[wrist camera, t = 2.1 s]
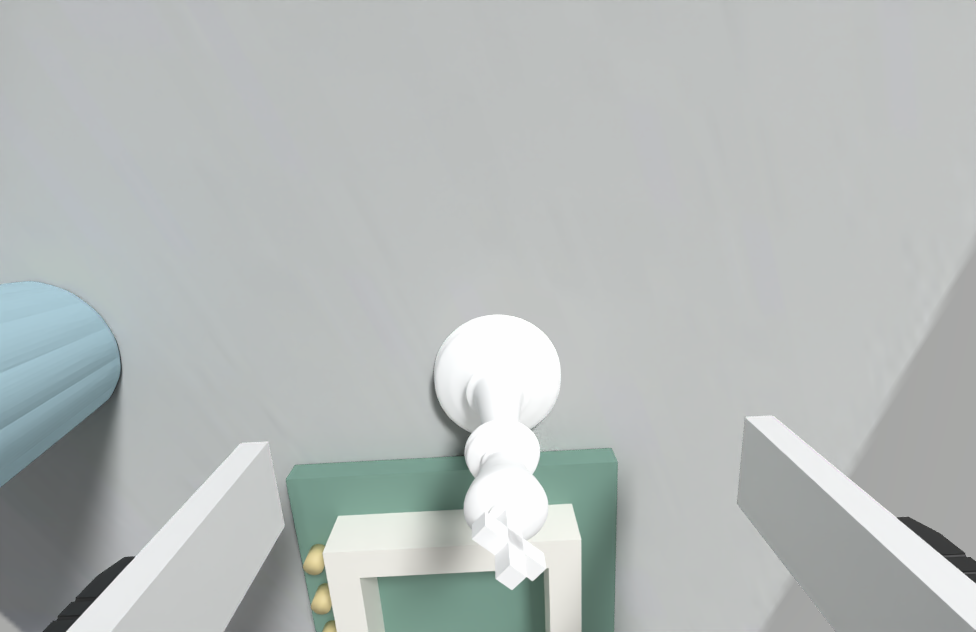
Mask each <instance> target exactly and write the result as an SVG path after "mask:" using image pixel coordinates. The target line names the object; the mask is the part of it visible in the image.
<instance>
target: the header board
mask: <svg viewBox="0 0 976 632" xmlns="http://www.w3.org/2000/svg"><path fill="white" fill-rule="evenodd" d="M617 471H618V462H617V459H616V457H615V455H614V453H613V451H612V448H603V449H585V450H566V451H547V452H540V458H539V462H538V465H537V467H536V470H535V471H534V473H533V474H532V475H533V476H534V477H535V478H536V479H537V480H538V482H539V483H540V484H541V486H542V487H543V489H544V491H545V493H546V496H547V499H548V515H547V519H546V521H545V523H544V525H543V527H542V528H541V529H540V531H539V532H538V533H537V534H536V535H534V536H533V537H532V538H530V539H528V540H526V541H527V542H529V543H530V544H532V545H533V546H534V547H536V548H537V549H539V550H540V551H542V552H543V553H544V557H545V563H546V569H545V570H544V571H543V572H542V573H541V574H540V575H539V576H538V577H537V578H536V579H535V580H534V581H531V580H530V579H529V578H527V577H526V578H525V579H524V580H523V581H522V582H520V583H519V584H518V585H517V586H516V587H515V588H514V589H513V590H511V589H509V588H508V587H506V586H505V585H504V584H502V583H501V582H499V581H498V580H496V579H495V555H494V554H492V553H491V552H490V551H488V550H487V549H485V548H484V547H482V546H481V545H479V544H478V543H476V542H475V541H474V540H472V530H471V529H470V527H469V526H468V524H467V522H466V519H465V516H464V500H465V496H466V494H467V491H468V489H469V487H470V486H471V484H472V482H473V481H474V479H475V477H474V476H473V475H472V473H471V472H470V470H469V468H468V466H467V464H466V461H465V456H454V457H436V458H417V459H398V460H380V461H361V462H342V463H324V464H305V465H295V466H294V467H293V469H292V471H291V472H290V474H289V475H288V477H287V478H286V484H287V489H288V494H289V499H290V504H291V509H292V514H293V519H294V524H295V529H296V534H297V539H298V544H299V549H300V554H301V559H302V564H303V569H304V574H305V579H306V584H307V589H308V594H309V599H310V604H311V609H312V614H313V619H314V624H315V629H316V632H614V606H615V561H616V516H617Z"/></svg>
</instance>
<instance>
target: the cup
mask: <svg viewBox="0 0 976 632" xmlns="http://www.w3.org/2000/svg"><path fill="white" fill-rule="evenodd" d="M120 370H121V365H120V355H119V350H118V346H117V343H116V340H115V338H114V336H113V334H112V332H111V330H110V329H109V327H108V326H107V324H106V323H105V321H104V320H103V319H102V317H101V316H100V315H99V314H98V313H97V312H96V311H95V310H94V309H93V308H92V307H91V306H89V305H88V304H87V303H86V302H84V301H83V300H81V299H80V298H79V297H77V296H76V295H74V294H72V293H70V292H69V291H67V290H64V289H61V288H58V287H55V286H52V285H48V284H45V283H40V282H33V281H25V282H16V283H7V284H0V487H2V486H3V485H4V484H5V483H6V482H8V481H9V480H10V479H11V478H13V477H14V476H15V475H16V474H18V473H19V472H20V471H21V470H22V469H24V468H25V467H26V466H27V465H29V464H30V463H31V462H32V461H34V460H35V459H36V458H37V457H39V456H40V455H41V454H42V453H43V452H45V451H46V450H47V449H48V448H50V447H51V446H52V445H53V444H55V443H56V442H57V441H58V440H59V439H61V438H62V437H63V436H64V435H66V434H67V433H68V432H69V431H71V430H72V429H73V428H74V427H75V426H77V425H78V424H79V423H80V422H82V421H83V420H84V419H85V418H86V417H88V416H89V415H90V414H91V413H93V412H94V411H95V410H96V409H97V408H99V407H100V406H101V405H102V404H103V403H104V402H106V401H107V400H108V399H109V398H110V396H111V395H112V393H113V391H114V389H115V387H116V385H117V382H118V379H119V376H120Z"/></svg>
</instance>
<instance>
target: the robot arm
mask: <svg viewBox="0 0 976 632" xmlns="http://www.w3.org/2000/svg"><path fill="white" fill-rule="evenodd" d="M737 504H738V506H739V507H740V508H741V510H742V511H743V512H744V514H745V515H746V516H747V517H748V519H749V520H750V521H751V523H752V524H753V525H754V527H755V528H756V529H757V530H758V532H759V533H760V534H761V536H762V537H763V538H764V540H765V541H766V542H767V543H768V545H769V546H770V547H771V549H772V550H773V551H774V553H775V554H776V555H777V556H778V558H779V559H780V560H781V562H782V563H783V564H784V566H785V567H786V568H787V569H788V571H789V572H790V573H791V575H792V576H793V577H794V579H795V580H796V581H797V582H798V584H799V585H800V586H801V588H802V589H803V590H804V592H805V593H806V594H807V595H808V597H809V598H810V599H811V601H812V602H813V603H814V605H815V606H816V607H817V609H818V610H819V611H820V612H821V614H822V615H823V616H824V618H825V619H826V620H827V622H828V623H829V624H830V625H831V627H832V628H833V629H834V631H835V632H976V561H975V560H973V559H972V558H971V557H966V555H965V553H964V552H963V551H962V550H960V549H959V548H958V547H957V546H955V545H954V544H953V543H951V542H950V541H949V540H948V539H946V538H945V537H944V536H943V535H941V534H940V533H938V532H936V531H934V530H932V529H931V528H929V527H927V526H925V525H923V524H921V523H919V522H917V521H915V520H913V519H911V518H910V517H897V518H896V517H895V516H894V515H892V514H891V513H890V512H889V511H887V510H886V509H885V508H884V507H883V506H881V505H880V504H879V503H878V502H877V501H876V500H874V499H873V498H872V497H871V496H870V495H868V494H867V493H866V492H865V491H863V490H862V489H861V488H860V487H859V486H857V485H856V484H855V483H854V482H853V481H851V480H850V479H849V478H848V477H847V476H845V475H844V474H843V473H842V472H841V471H839V470H838V469H837V468H836V467H835V466H833V465H832V464H831V463H830V462H828V461H827V460H826V459H825V458H824V457H822V456H821V455H820V454H819V453H818V452H816V451H815V450H814V449H813V448H812V447H810V446H809V445H808V444H807V443H806V442H804V441H803V440H802V439H801V438H800V437H798V436H797V435H796V434H795V433H793V432H792V431H791V430H790V429H789V428H787V427H786V426H785V425H784V424H783V423H781V422H780V421H779V420H778V419H777V418H775V417H774V416H773V415H772V416H753V417H745V420H744V431H743V442H742V453H741V463H740V474H739V485H738V496H737ZM284 527H285V524H284V519H283V513H282V508H281V503H280V498H279V493H278V488H277V483H276V478H275V472H274V467H273V462H272V457H271V452H270V447H269V442H249V443H240V445H239V446H238V447H237V448H236V449H235V450H234V451H233V452H232V453H231V454H230V455H229V456H228V457H227V459H226V460H225V461H224V462H223V463H222V464H221V465H220V466H219V467H218V468H217V469H216V470H215V471H214V473H213V474H212V475H211V476H210V477H209V478H208V479H207V480H206V481H205V482H204V483H203V484H202V486H201V487H200V488H199V489H198V490H197V491H196V492H195V493H194V494H193V495H192V496H191V497H190V498H189V500H188V501H187V502H186V503H185V504H184V505H183V506H182V507H181V508H180V509H179V510H178V511H177V512H176V514H175V515H174V516H173V517H172V518H171V519H170V520H169V521H168V522H167V523H166V524H165V525H164V527H163V528H162V529H161V530H160V531H159V532H158V533H157V534H156V535H155V536H154V537H153V538H152V539H151V541H150V542H149V543H148V544H147V545H146V546H145V547H144V548H143V549H142V550H141V551H140V552H139V554H138V555H137V556H134V557H124V558H122V559H121V560H119V561H118V562H117V563H115V564H114V565H112V566H111V567H109V568H108V569H106V570H105V571H104V572H102V573H101V574H99V575H98V576H97V577H96V578H95V579H94V580H93V581H92V582H91V583H90V584H89V585H88V586H87V587H86V588H85V589H84V590H83V591H82V592H81V593H80V594H79V595H78V596H77V597H76V600H75V602H71V603H70V604H69V605H68V606H67V607H66V608H65V609H64V610H63V611H62V612H61V613H60V614H59V615H58V619H57V620H56V621H52V623H51V624H50V625H49V626H48V627H47V628H46V629H45V630H44V631H43V632H224V630H225V629H226V627H227V625H228V623H229V622H230V620H231V618H232V616H233V615H234V613H235V611H236V610H237V608H238V606H239V604H240V603H241V601H242V599H243V597H244V596H245V594H246V592H247V591H248V589H249V587H250V585H251V584H252V582H253V580H254V579H255V577H256V575H257V573H258V572H259V570H260V568H261V566H262V565H263V563H264V561H265V560H266V558H267V556H268V554H269V553H270V551H271V549H272V547H273V546H274V544H275V542H276V541H277V539H278V537H279V535H280V534H281V532H282V530H283V528H284Z"/></svg>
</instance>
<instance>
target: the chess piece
mask: <svg viewBox="0 0 976 632" xmlns="http://www.w3.org/2000/svg"><path fill="white" fill-rule="evenodd" d="M434 383H435V390H436V395H437V398H438V400H439V403H440V405H441V407H442V408H443V410H444V411H445V413H446V414H447V415H448V417H449V418H450V419H451V420H452V421H453V422H455V423H456V424H457V425H458V426H460V427H461V428H463V429H465V430H466V431H468V432H471V433H472V434H471V435H470V436H469V438H468V440H467V442H466V445H465V452H464V454H465V461H466V464H467V466H468V468H469V470H470V472H471V473H472V475H473V476H474V477H475V479H474V481H473V482H472V484H471V486H470V487H469V489H468V491H467V494H466V496H465V500H464V516H465V519H466V522H467V524H468V526H469V527H470V529H471V530H472V540H474V541H475V542H476V543H478V544H479V545H481V546H482V547H484V548H485V549H487V550H488V551H490V552H491V553H492V554H494V555H495V579H496V580H498V581H499V582H501V583H502V584H504V585H505V586H506V587H508V588H509V589H511V590H513V589H514V588H515V587H516V586H517V585H518V584H519V583H520V582H522V581H523V580H524V579H525V578H526V577H527V578H529V579H530V580H531V581H534V580H535V579H536V578H537V577H538V576H539V575H540V574H541V573H542V572H543V571H544V570H545V569H546V563H545V557H544V553H543V552H542V551H540V550H539V549H537V548H536V547H534V546H533V545H532V544H530V543H529V542H527V541H526V540H528V539H530V538H532V537H533V536H534V535H536V534H537V533H538V532H539V531H540V529H541V528H542V527H543V525H544V523H545V521H546V519H547V515H548V499H547V496H546V493H545V491H544V489H543V487H542V486H541V484H540V483H539V482H538V480H537V479H536V478H535V477H534V476H533V475H532V474H533V473H534V471H535V470H536V467H537V465H538V462H539V458H540V446H539V442H538V440H537V438H536V436H535V435H534V433H533V432H532V431H531V430H530V429H531V428H533V427H535V426H536V425H537V424H539V423H540V422H541V421H542V420H543V419H544V418H545V417H546V416H547V415H548V414H549V412H550V411H551V409H552V408H553V406H554V404H555V402H556V400H557V397H558V394H559V390H560V384H561V369H560V362H559V358H558V355H557V352H556V350H555V348H554V346H553V344H552V343H551V341H550V340H549V339H548V337H547V336H546V335H545V334H544V333H543V332H542V331H541V330H540V329H538V328H537V327H536V326H534V325H533V324H531V323H529V322H527V321H525V320H523V319H520V318H517V317H513V316H508V315H488V316H482V317H479V318H475V319H473V320H470V321H468V322H466V323H464V324H463V325H461V326H460V327H458V328H457V329H456V330H454V331H453V332H452V333H451V334H450V335H449V336H448V337H447V339H446V340H445V341H444V343H443V344H442V346H441V348H440V350H439V352H438V354H437V357H436V360H435V365H434Z"/></svg>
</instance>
